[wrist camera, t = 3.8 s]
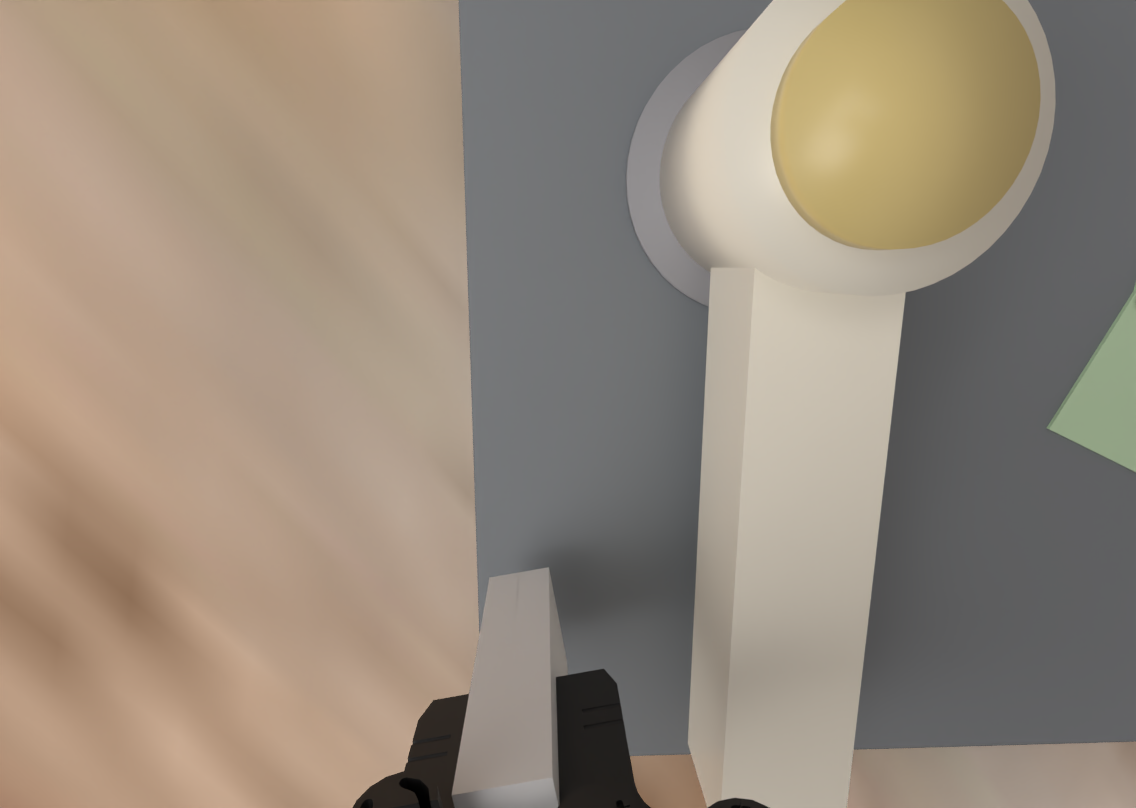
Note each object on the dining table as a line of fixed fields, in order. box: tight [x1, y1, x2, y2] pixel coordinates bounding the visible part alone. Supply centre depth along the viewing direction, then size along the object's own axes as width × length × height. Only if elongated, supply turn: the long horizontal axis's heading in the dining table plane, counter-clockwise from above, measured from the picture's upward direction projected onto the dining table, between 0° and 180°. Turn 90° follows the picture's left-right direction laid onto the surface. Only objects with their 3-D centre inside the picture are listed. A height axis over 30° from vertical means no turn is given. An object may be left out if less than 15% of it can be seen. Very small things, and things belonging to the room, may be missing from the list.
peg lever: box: [659, 0, 1056, 808], centre depth 13 cm, size 19×5×6 cm, turn 0°
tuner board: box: [459, 0, 1136, 756], centre depth 16 cm, size 24×26×2 cm
